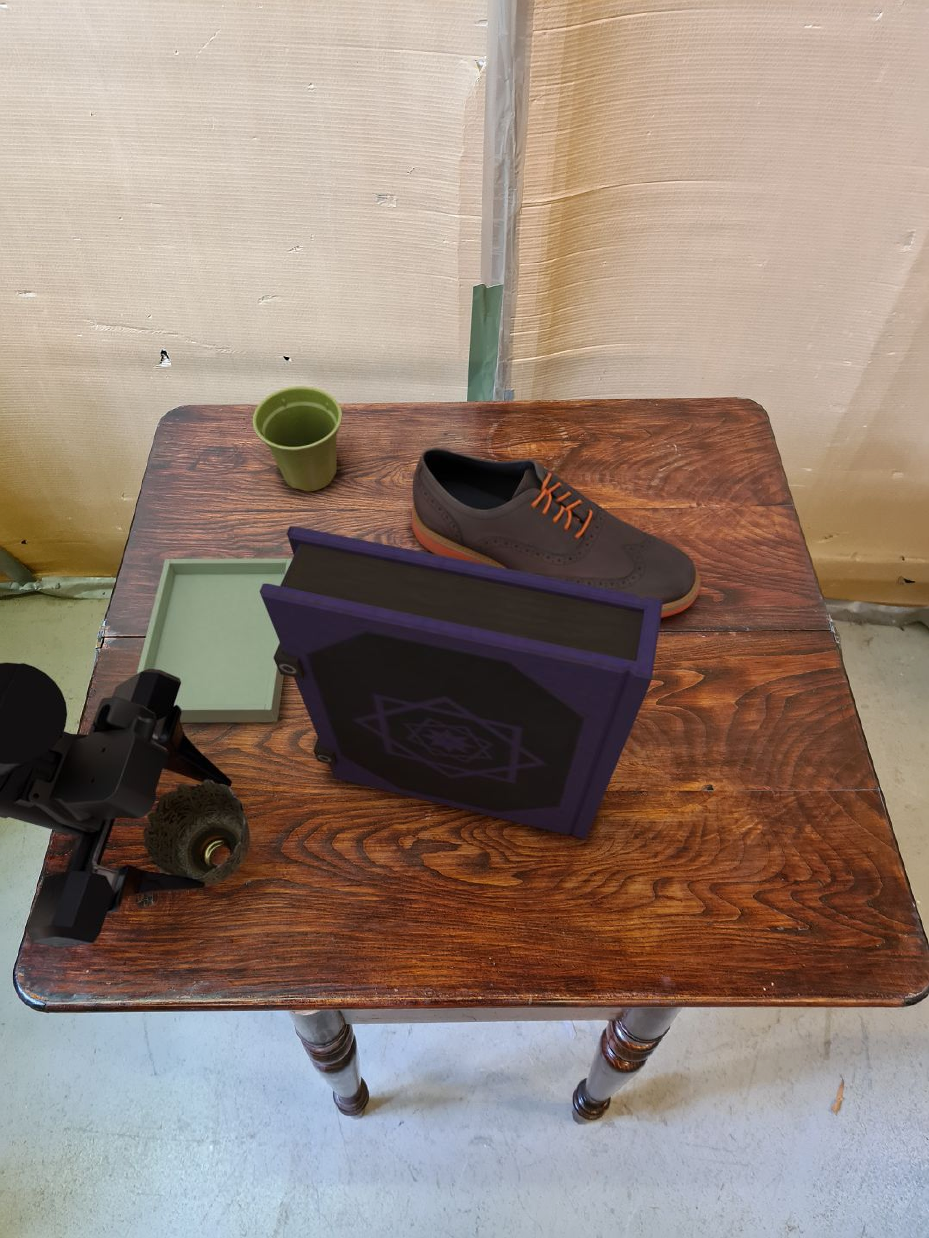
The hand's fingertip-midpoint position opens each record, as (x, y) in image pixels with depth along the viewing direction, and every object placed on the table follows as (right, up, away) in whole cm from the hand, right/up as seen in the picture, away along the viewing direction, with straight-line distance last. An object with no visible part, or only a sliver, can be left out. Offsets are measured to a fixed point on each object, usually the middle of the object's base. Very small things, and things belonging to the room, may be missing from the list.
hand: (216, 834), depth 60 cm
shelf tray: (-6, +14, +20) cm, 25 cm away
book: (+18, +2, +12) cm, 22 cm away
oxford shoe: (+27, +22, +25) cm, 43 cm away
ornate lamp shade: (-1, -4, +6) cm, 7 cm away
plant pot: (+1, +33, +32) cm, 46 cm away
